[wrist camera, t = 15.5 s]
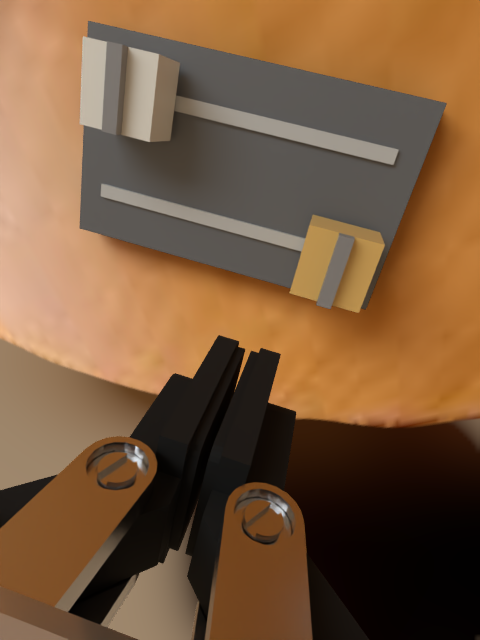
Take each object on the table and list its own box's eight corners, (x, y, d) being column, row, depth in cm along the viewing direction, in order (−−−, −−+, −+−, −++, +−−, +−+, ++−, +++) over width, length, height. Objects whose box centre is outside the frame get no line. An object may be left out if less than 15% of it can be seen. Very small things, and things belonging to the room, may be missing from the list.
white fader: (180, 62, 23) (154, 51, 20) (169, 140, 25) (144, 142, 21) (112, 47, 23) (75, 33, 20) (107, 124, 25) (73, 123, 22)
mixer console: (438, 105, 23) (447, 102, 21) (364, 298, 29) (365, 310, 27) (106, 28, 25) (86, 19, 23) (94, 222, 31) (78, 228, 29)
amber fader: (380, 232, 24) (386, 248, 21) (356, 294, 26) (359, 317, 23) (312, 214, 25) (308, 227, 21) (294, 276, 26) (288, 297, 23)
